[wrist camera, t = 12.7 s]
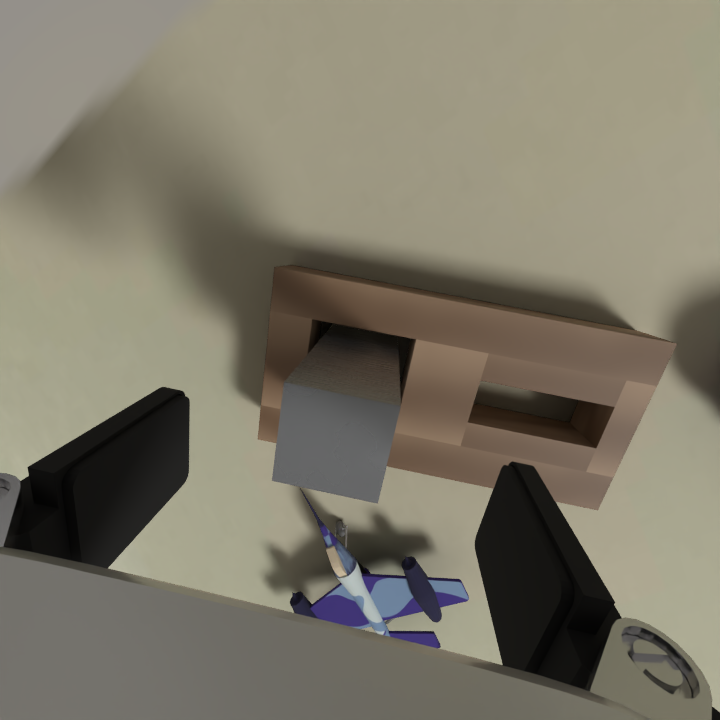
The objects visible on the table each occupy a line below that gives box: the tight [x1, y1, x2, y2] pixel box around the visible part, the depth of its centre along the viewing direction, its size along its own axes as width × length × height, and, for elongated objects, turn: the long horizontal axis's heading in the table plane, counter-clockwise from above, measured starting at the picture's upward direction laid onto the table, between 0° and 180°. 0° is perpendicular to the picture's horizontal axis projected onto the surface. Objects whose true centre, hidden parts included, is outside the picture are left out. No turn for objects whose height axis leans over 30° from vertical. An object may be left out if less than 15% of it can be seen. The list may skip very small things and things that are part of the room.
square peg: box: [272, 324, 401, 503], centre depth 17 cm, size 4×4×10 cm
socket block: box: [258, 265, 677, 510], centre depth 20 cm, size 10×20×3 cm, turn 80°
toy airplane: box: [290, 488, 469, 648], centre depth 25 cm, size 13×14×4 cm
